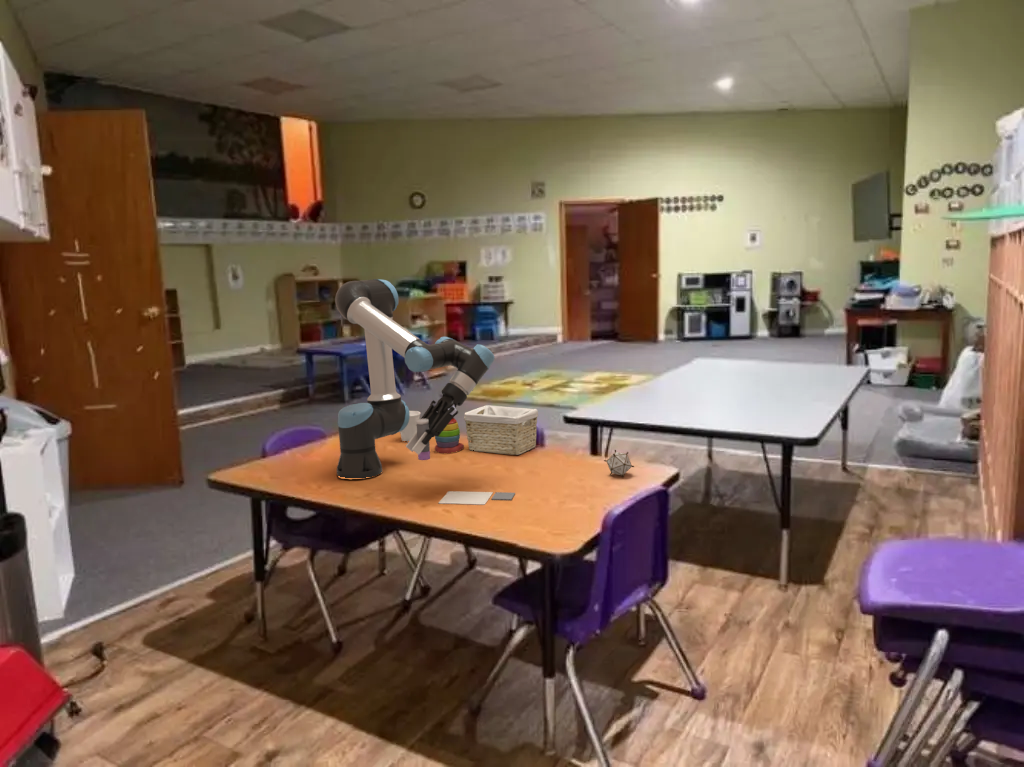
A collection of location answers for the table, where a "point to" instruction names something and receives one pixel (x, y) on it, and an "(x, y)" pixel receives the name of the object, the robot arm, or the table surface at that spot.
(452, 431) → the stacking bear
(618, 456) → the game die
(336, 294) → the robot arm
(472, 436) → the storage basket
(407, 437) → the cup
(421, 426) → the marker
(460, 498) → the paper
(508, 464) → the table surface
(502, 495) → the rest pad
